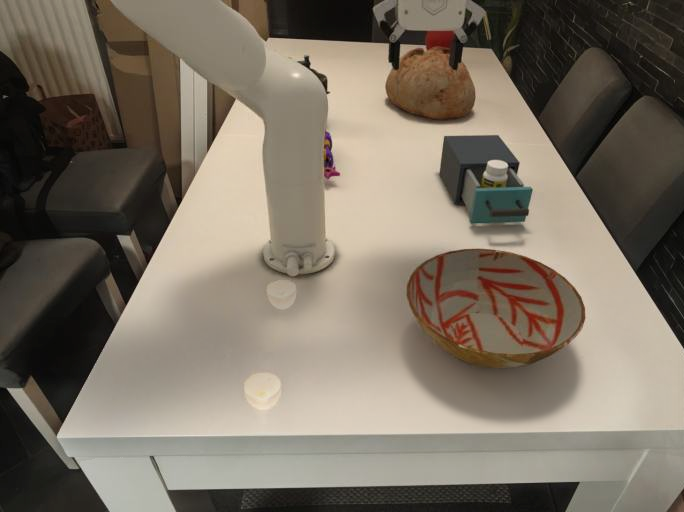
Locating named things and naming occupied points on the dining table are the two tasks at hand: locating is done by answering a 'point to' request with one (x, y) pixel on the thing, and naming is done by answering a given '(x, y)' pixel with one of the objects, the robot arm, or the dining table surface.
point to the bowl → (494, 307)
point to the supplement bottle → (495, 174)
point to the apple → (439, 39)
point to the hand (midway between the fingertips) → (424, 67)
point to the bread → (431, 85)
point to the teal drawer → (495, 198)
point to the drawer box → (470, 158)
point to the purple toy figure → (328, 157)
